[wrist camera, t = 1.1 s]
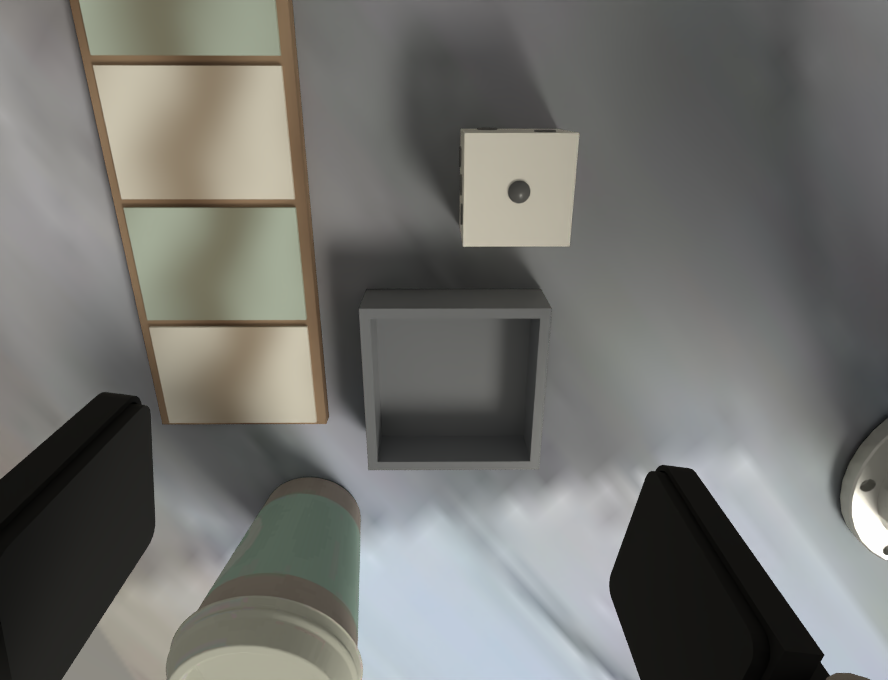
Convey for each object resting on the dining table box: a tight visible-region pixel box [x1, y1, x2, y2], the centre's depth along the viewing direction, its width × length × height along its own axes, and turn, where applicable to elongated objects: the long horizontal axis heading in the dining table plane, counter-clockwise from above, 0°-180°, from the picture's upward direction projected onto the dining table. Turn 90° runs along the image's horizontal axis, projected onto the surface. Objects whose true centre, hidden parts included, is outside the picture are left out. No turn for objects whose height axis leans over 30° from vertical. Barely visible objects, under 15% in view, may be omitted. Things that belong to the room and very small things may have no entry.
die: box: [459, 128, 579, 247], centre depth 25 cm, size 5×5×5 cm
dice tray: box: [359, 289, 552, 470], centre depth 29 cm, size 9×9×3 cm
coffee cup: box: [166, 477, 363, 680], centre depth 29 cm, size 9×8×12 cm
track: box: [69, 0, 329, 424], centre depth 26 cm, size 9×30×1 cm, turn 0°
